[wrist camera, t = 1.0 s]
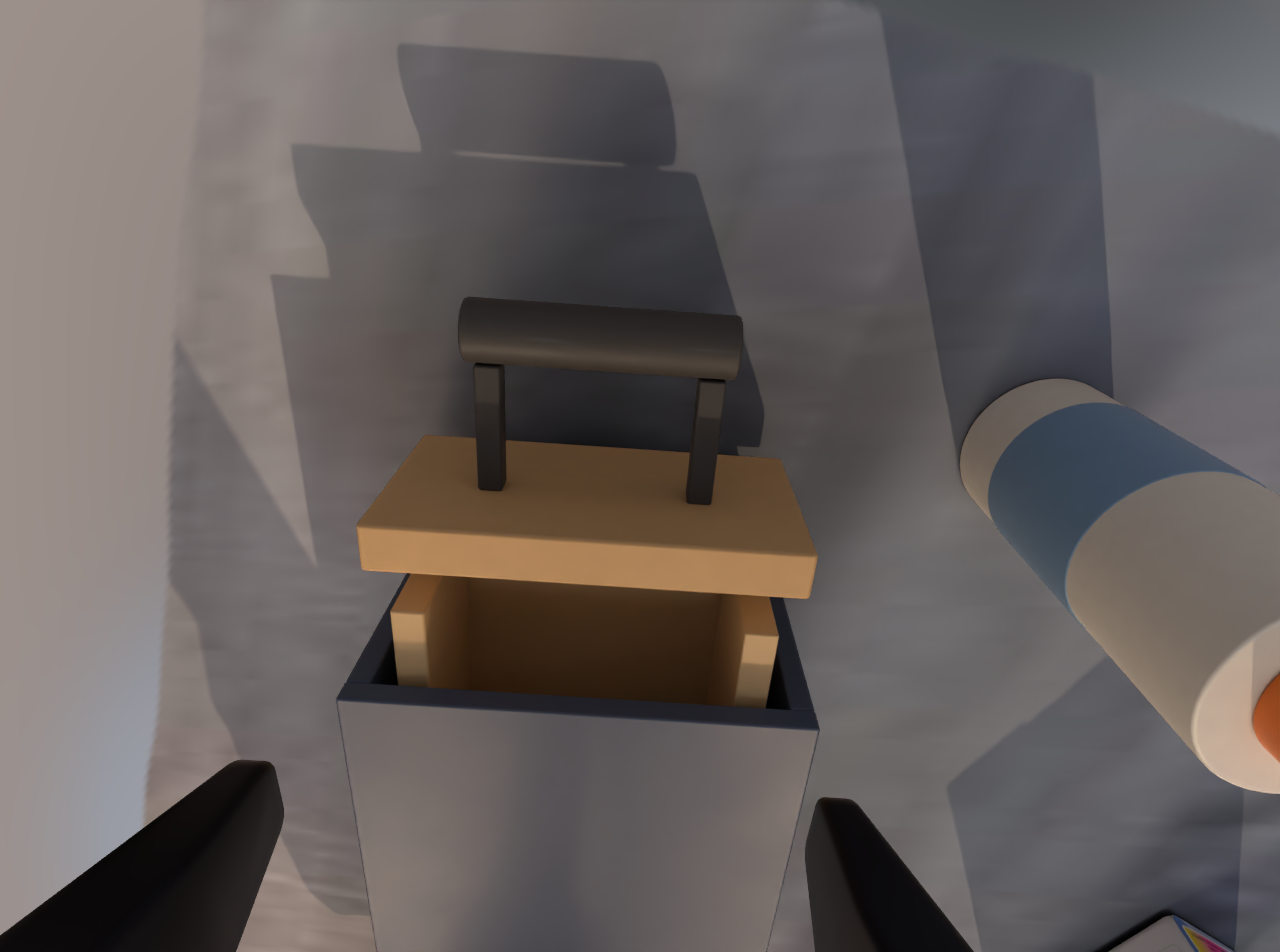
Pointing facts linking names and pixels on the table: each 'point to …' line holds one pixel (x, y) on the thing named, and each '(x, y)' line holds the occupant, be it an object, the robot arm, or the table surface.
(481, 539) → the drawer
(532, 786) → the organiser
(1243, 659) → the glue bottle
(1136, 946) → the ink cartridge box
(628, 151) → the table surface
